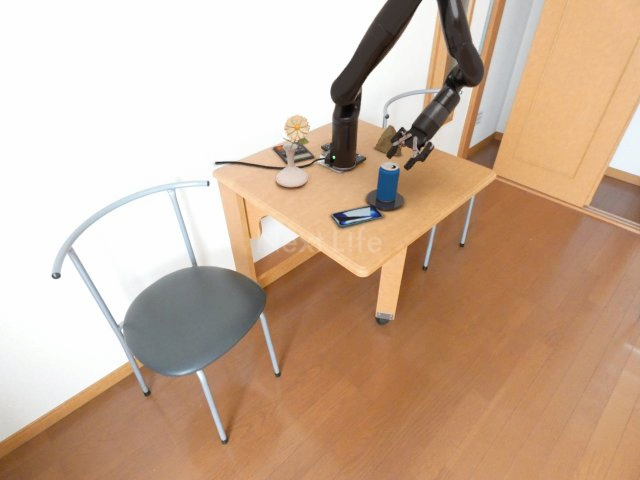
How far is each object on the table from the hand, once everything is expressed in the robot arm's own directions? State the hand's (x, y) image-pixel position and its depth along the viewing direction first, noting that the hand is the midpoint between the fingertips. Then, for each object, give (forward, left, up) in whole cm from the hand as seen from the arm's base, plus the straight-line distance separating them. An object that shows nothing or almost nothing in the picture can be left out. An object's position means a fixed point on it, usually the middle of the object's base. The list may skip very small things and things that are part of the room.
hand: (396, 163), depth 116 cm
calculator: (-44, +20, -13) cm, 50 cm away
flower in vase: (-35, -1, -13) cm, 37 cm away
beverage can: (-2, -2, -12) cm, 13 cm away
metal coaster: (-2, -2, -13) cm, 13 cm away
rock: (-8, +34, -13) cm, 37 cm away
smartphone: (-8, -14, -14) cm, 21 cm away
